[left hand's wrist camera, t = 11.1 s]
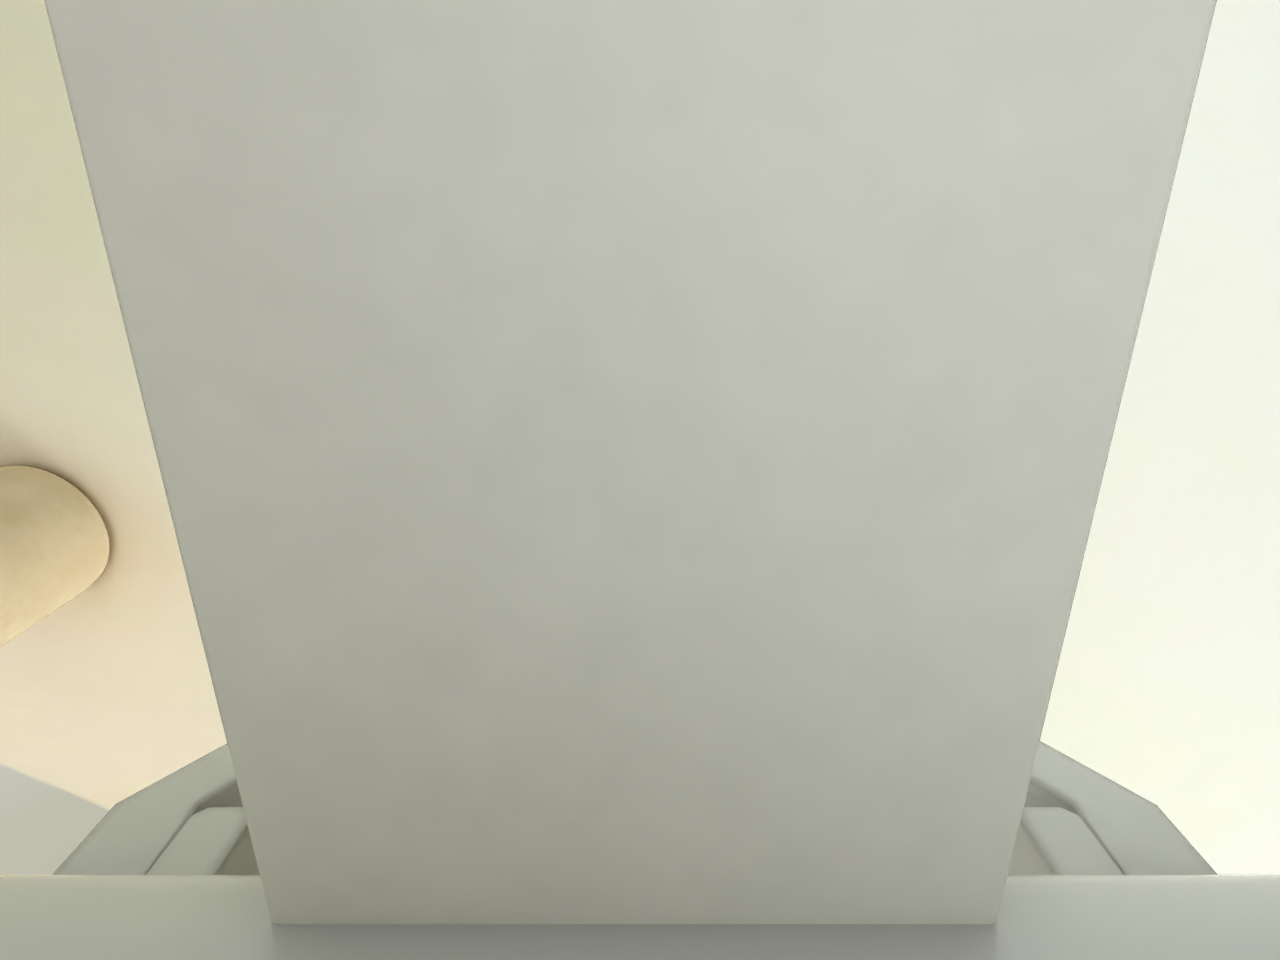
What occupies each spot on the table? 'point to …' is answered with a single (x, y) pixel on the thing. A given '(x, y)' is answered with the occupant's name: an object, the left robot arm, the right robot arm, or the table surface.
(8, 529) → the candle
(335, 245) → the bar
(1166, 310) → the table surface
